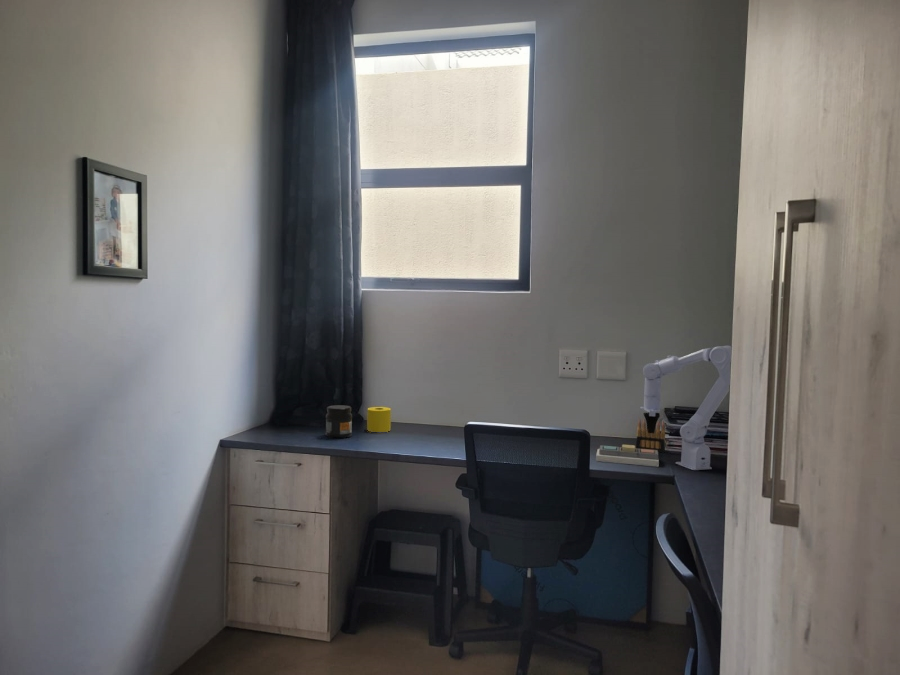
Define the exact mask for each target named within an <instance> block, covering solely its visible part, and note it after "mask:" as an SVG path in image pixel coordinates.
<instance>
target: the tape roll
mask: <svg viewBox="0 0 900 675" xmlns="http://www.w3.org/2000/svg"><path fill="white" fill-rule="evenodd" d="M366 416H367V417H366V418H367V419H366V431H367V430H368V431H371V432H387V433H389V432H388V431H390V430H391V426H392V422H391V420H392V408H390V407H387V406H373V407H371V406H370V407H368V408H367V414H366ZM368 431H367V432H368ZM371 432H370V433H371ZM390 432H391V431H390Z"/></svg>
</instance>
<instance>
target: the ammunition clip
mask: <svg viewBox="0 0 900 675" xmlns="http://www.w3.org/2000/svg"><path fill="white" fill-rule="evenodd" d="M665 427H666V423H665V421H664V420H663V421H662V423H661V424H660V420H659V419H658V421H657V423H656V427H655V431H654V433H648V431H647V423H646V419H644V418H643V420H642V421H641V418H638V422H637V428H636V443H635V448H637V449H649V450H658V453H665V452H666V443H665V442H666V428H665Z"/></svg>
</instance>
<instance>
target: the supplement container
mask: <svg viewBox="0 0 900 675" xmlns="http://www.w3.org/2000/svg"><path fill="white" fill-rule="evenodd" d="M326 411H327V413H326V414H325V436H326V437H327V438H329V437H330V438H329V439H337V438H339V439H347V438H349V437H351V436H352V435H353V432H352V431H353V430H352V429H353V427H352V424H353V421H352V420H353V414H352V413H351V412H352V407H351V406H350V405H341V404H340V405H339V404H337V405H329V406H327V407H326ZM346 437H347V438H346Z"/></svg>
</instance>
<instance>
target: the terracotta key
mask: <svg viewBox="0 0 900 675" xmlns="http://www.w3.org/2000/svg"><path fill="white" fill-rule="evenodd" d="M641 453H652V454H654V450H648V449H641Z"/></svg>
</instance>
